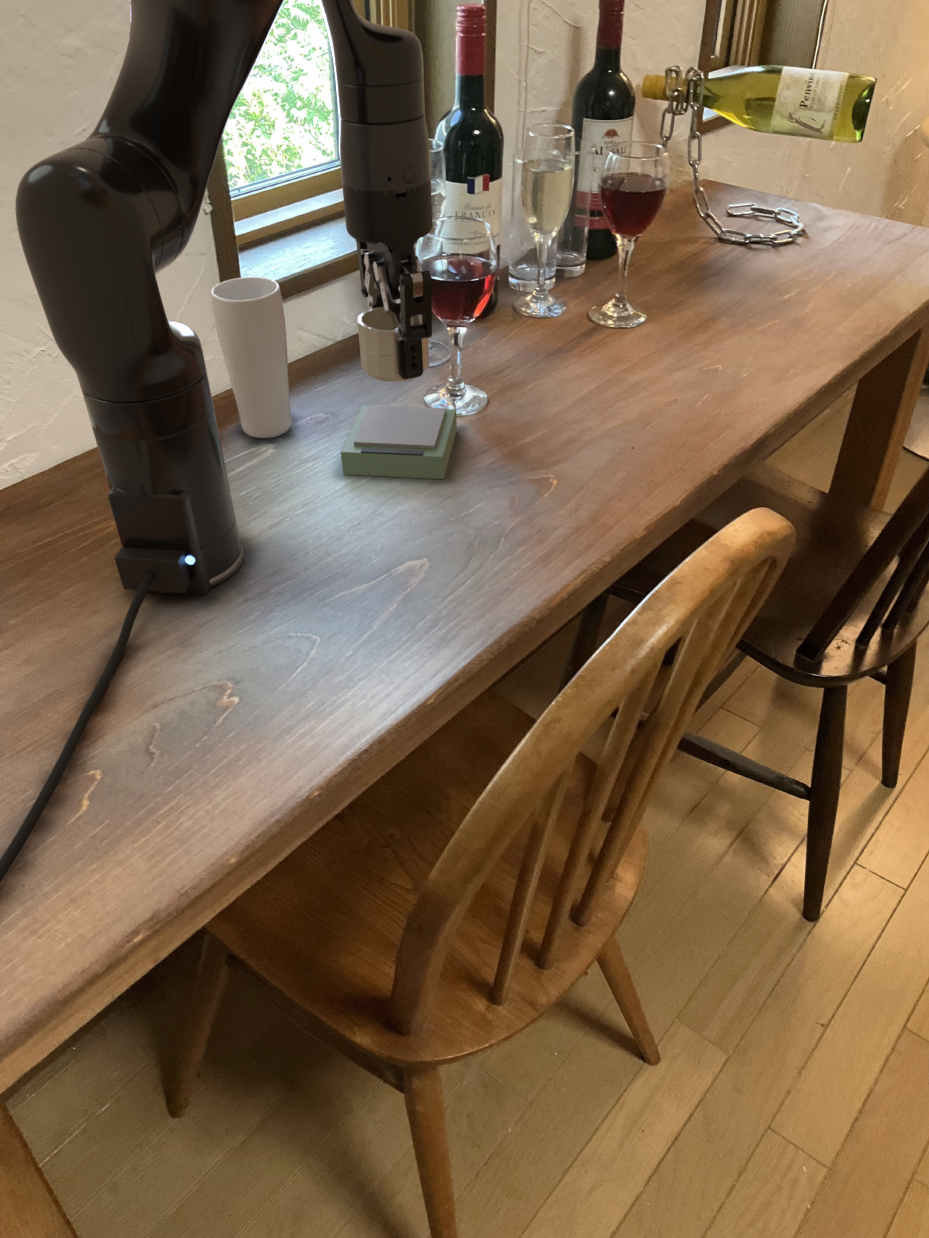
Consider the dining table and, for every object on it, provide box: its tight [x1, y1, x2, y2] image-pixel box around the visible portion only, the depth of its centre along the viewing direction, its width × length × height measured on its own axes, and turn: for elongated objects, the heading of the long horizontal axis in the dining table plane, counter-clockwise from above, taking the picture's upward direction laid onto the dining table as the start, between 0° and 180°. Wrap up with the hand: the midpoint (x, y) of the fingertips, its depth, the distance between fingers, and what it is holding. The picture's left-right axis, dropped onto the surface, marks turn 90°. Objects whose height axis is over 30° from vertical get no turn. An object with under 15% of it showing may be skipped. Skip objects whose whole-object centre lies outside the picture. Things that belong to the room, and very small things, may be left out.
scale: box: [340, 404, 458, 480], centre depth 97 cm, size 10×10×3 cm
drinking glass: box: [210, 276, 293, 439], centre depth 97 cm, size 7×7×15 cm
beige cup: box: [357, 306, 430, 382], centre depth 90 cm, size 6×6×5 cm
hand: (398, 361), depth 91 cm, fingers closed on beige cup, 6 cm apart
